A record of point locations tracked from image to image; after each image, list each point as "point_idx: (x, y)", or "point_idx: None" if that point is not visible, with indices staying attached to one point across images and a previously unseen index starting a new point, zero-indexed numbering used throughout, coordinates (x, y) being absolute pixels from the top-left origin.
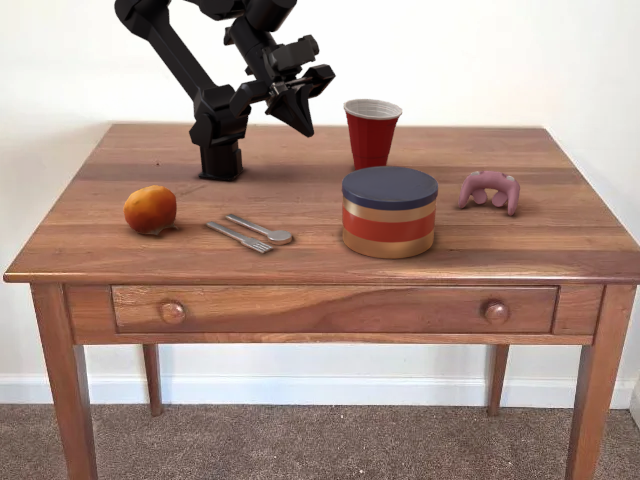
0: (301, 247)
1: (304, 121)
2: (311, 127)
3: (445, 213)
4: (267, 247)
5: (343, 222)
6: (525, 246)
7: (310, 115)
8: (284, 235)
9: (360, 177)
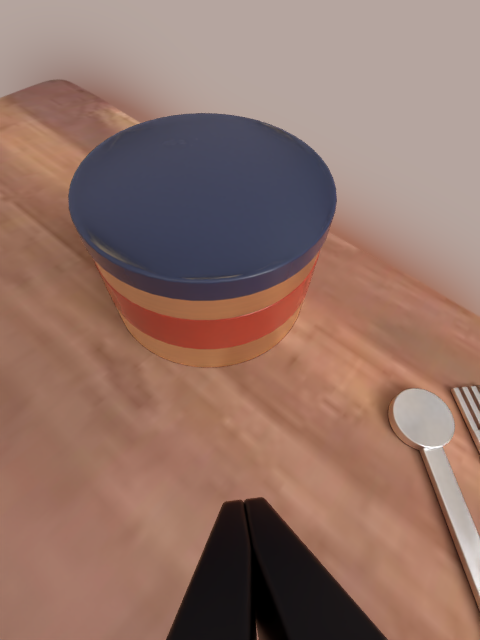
0: (386, 359)
1: (300, 574)
2: (234, 528)
3: (21, 288)
4: (466, 394)
5: (303, 296)
6: (77, 159)
7: (173, 635)
8: (412, 406)
9: (241, 238)
